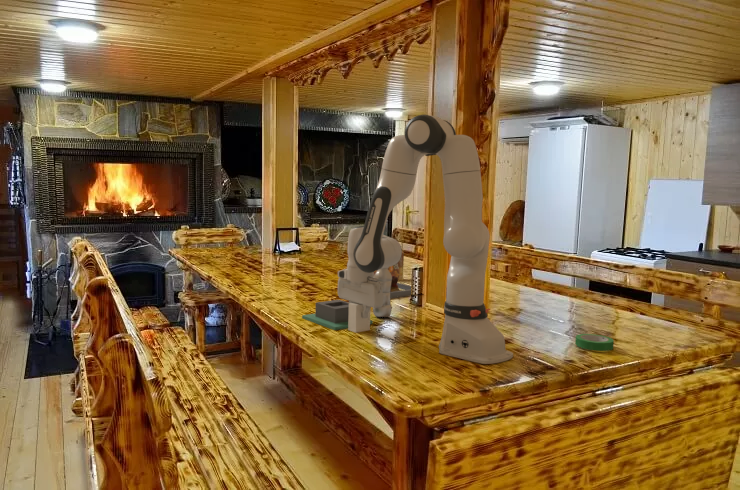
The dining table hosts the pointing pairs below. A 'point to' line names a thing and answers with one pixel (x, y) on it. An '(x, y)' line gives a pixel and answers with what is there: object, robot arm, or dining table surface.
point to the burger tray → (403, 293)
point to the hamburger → (393, 283)
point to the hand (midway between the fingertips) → (359, 316)
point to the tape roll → (594, 342)
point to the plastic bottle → (384, 292)
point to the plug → (357, 318)
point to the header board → (326, 323)
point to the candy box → (398, 268)
